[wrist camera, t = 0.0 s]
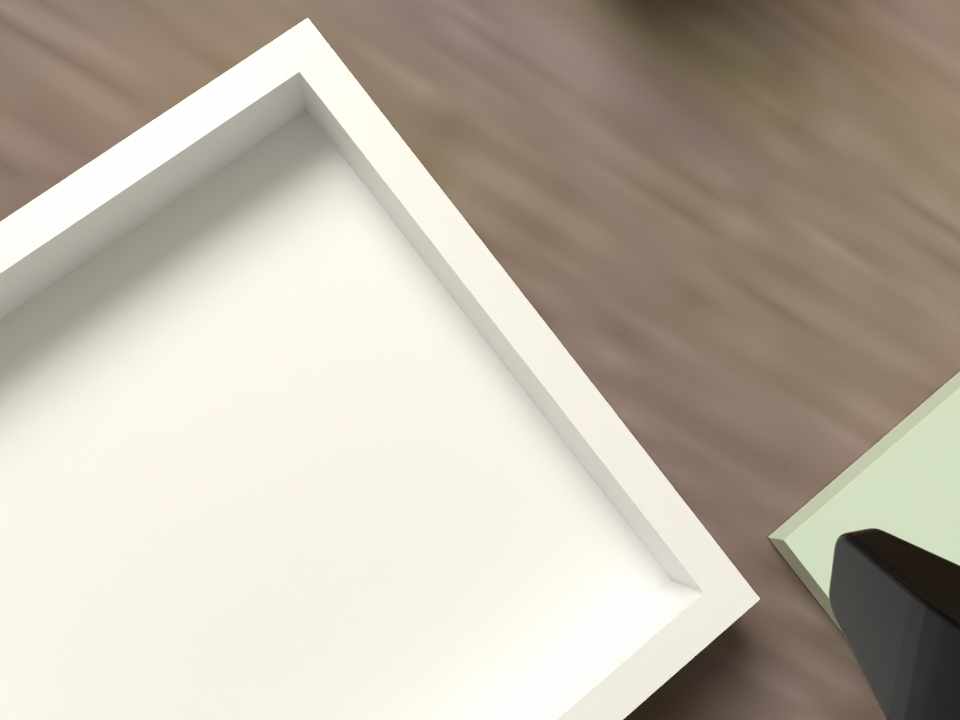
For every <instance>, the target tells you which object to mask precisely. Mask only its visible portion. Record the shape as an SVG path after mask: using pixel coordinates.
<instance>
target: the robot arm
mask: <svg viewBox="0 0 960 720" xmlns="http://www.w3.org/2000/svg"><path fill="white" fill-rule="evenodd" d="M829 601H830V606H831V609H832V612H833V615H834V617H835V619H836V621H837V623H838V625H839V627H840V629H841V631H842V633H843V635H844V636H845V638H846V640H847V642H848V644H849V646H850V648H851V650H852V652H853V654H854V656H855V658H856V660H857V662H858V664H859V666H860V668H861V670H862V672H863V674H864V675H865V677H866V679H867V681H868V683H869V685H870V687H871V689H872V691H873V693H874V695H875V697H876V699H877V701H878V703H879V705H880V707H881V709H882V711H883V713H884V715H885V716H886V718H887V720H960V565H958V564H955V563H953V562H951V561H949V560H947V559H944V558H942V557H940V556H938V555H936V554H933V553H931V552H929V551H927V550H925V549H923V548H920V547H918V546H916V545H914V544H912V543H909V542H907V541H905V540H903V539H901V538H898V537H896V536H894V535H892V534H890V533H887V532H885V531H883V530H880V529H876V528H869V529H864V530H858V531H853V532H847V533H844V534H842V535H840V536H839V537H838V539H837V541H836V543H835V548H834V555H833V563H832V571H831V579H830V587H829Z"/></svg>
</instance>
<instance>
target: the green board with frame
mask: <svg viewBox="0 0 960 720" xmlns="http://www.w3.org/2000/svg"><path fill="white" fill-rule="evenodd" d="M869 528H876V529H880V530H883V531H885V532H887V533H890V534H892V535H894V536H896V537H898V538H901V539H903V540H905V541H907V542H909V543H912V544H914V545H916V546H918V547H920V548H923V549H925V550H927V551H929V552H931V553H933V554H936V555H938V556H940V557H942V558H944V559H947V560H949V561H951V562H953V563H955V564H958V565H960V371H959V372H958V373H957V374H956V375H955V376H954V377H952V378H951V379H950V380H949V381H948V382H947V383H946V384H944V385H943V386H942V387H941V388H940V389H939V390H937V391H936V392H935V393H934V394H933V395H932V396H931V397H929V398H928V399H927V400H926V401H925V402H924V403H922V404H921V405H920V406H919V407H918V408H917V409H915V410H914V411H913V412H912V413H911V414H910V415H909V416H907V417H906V418H905V419H904V420H903V421H902V422H900V423H899V424H898V425H897V426H896V427H895V428H893V429H892V430H891V431H890V432H889V433H888V434H887V435H885V436H884V437H883V438H882V439H881V440H880V441H878V442H877V443H876V444H875V445H874V446H873V447H872V448H870V449H869V450H868V451H867V452H866V453H865V454H863V455H862V456H861V457H860V458H859V459H858V460H856V461H855V462H854V463H853V464H852V465H851V466H850V467H848V468H847V469H846V470H845V471H844V472H843V473H841V474H840V475H839V476H838V477H837V478H836V479H835V480H833V481H832V482H831V483H830V484H829V485H828V486H826V487H825V488H824V489H823V490H822V491H821V492H819V493H818V494H817V495H816V496H815V497H814V498H813V499H811V500H810V501H809V502H808V503H807V504H806V505H804V506H803V507H802V508H801V509H800V510H799V511H797V512H796V513H795V514H794V515H793V516H792V517H791V518H789V519H788V520H787V521H786V522H785V523H784V524H782V525H781V526H780V527H779V528H778V529H777V530H776V531H774V532H773V533H772V534H771V535H770V536H769V537H768V538H769V540H770V541H771V542H772V543H773V545H774V546H775V547H776V548H777V550H778V551H779V552H780V554H781V555H782V556H783V557H784V559H785V560H786V561H787V563H788V564H789V565H790V566H791V568H792V569H793V570H794V572H795V573H796V574H797V575H798V577H799V578H800V579H801V581H802V582H803V583H804V584H805V586H806V587H807V588H808V590H809V591H810V592H811V593H812V595H813V596H814V597H815V599H816V600H817V601H818V602H819V604H820V605H821V606H822V607H823V609H824V610H825V611H826V613H827V614H828V615H829V616H830V618H831V619H832V620H833V622H834V623H835V624H836V625H837V627H838V628H839V629H840V627H839V625H838V623H837V621H836V619H835V617H834V615H833V612H832V609H831V606H830V601H829V587H830V579H831V571H832V563H833V555H834V548H835V543H836V541H837V539H838V537H839V536H840V535H842V534H844V533H847V532H853V531H858V530H864V529H869ZM840 631H841V629H840ZM841 632H842V631H841Z"/></svg>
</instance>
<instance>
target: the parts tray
mask: <svg viewBox="0 0 960 720" xmlns="http://www.w3.org/2000/svg"><path fill="white" fill-rule="evenodd" d="M759 600H760V598H759V597H758V596H757V594H756V593H755V592H754V591H753V589H752V588H751V587H750V585H749V584H748V583H747V582H746V580H745V579H744V578H743V576H742V575H741V574H740V573H739V571H738V570H737V569H736V567H735V566H734V565H733V564H732V562H731V561H730V560H729V558H728V557H727V556H726V555H725V553H724V552H723V551H722V549H721V548H720V547H719V546H718V544H717V543H716V542H715V540H714V539H713V538H712V537H711V535H710V534H709V533H708V531H707V530H706V529H705V528H704V526H703V525H702V524H701V522H700V521H699V520H698V519H697V517H696V516H695V515H694V513H693V512H692V511H691V510H690V508H689V507H688V506H687V504H686V503H685V502H684V501H683V499H682V498H681V497H680V495H679V494H678V493H677V492H676V490H675V489H674V488H673V486H672V485H671V484H670V483H669V481H668V480H667V479H666V477H665V476H664V475H663V474H662V472H661V471H660V470H659V468H658V467H657V466H656V465H655V463H654V462H653V461H652V459H651V458H650V457H649V456H648V454H647V453H646V452H645V451H644V449H643V448H642V447H641V445H640V444H639V443H638V442H637V440H636V439H635V438H634V436H633V435H632V434H631V433H630V431H629V430H628V429H627V427H626V426H625V425H624V424H623V422H622V421H621V420H620V418H619V417H618V416H617V415H616V413H615V412H614V411H613V409H612V408H611V407H610V406H609V404H608V403H607V402H606V400H605V399H604V398H603V397H602V395H601V394H600V393H599V391H598V390H597V389H596V388H595V386H594V385H593V384H592V382H591V381H590V380H589V379H588V377H587V376H586V375H585V373H584V372H583V371H582V370H581V368H580V367H579V366H578V364H577V363H576V362H575V361H574V359H573V358H572V357H571V355H570V354H569V353H568V352H567V350H566V349H565V348H564V346H563V345H562V344H561V343H560V341H559V340H558V339H557V337H556V336H555V335H554V334H553V332H552V331H551V330H550V328H549V327H548V326H547V325H546V323H545V322H544V321H543V319H542V318H541V317H540V316H539V314H538V313H537V312H536V310H535V309H534V308H533V307H532V305H531V304H530V303H529V301H528V300H527V299H526V298H525V296H524V295H523V294H522V292H521V291H520V290H519V289H518V287H517V286H516V285H515V283H514V282H513V281H512V280H511V278H510V277H509V276H508V274H507V273H506V272H505V271H504V269H503V268H502V267H501V265H500V264H499V263H498V262H497V260H496V259H495V258H494V256H493V255H492V254H491V253H490V251H489V250H488V249H487V247H486V246H485V245H484V244H483V242H482V241H481V240H480V238H479V237H478V236H477V235H476V233H475V232H474V231H473V229H472V228H471V227H470V226H469V224H468V223H467V222H466V220H465V219H464V218H463V217H462V215H461V214H460V213H459V211H458V210H457V209H456V208H455V206H454V205H453V204H452V202H451V201H450V200H449V199H448V197H447V196H446V195H445V193H444V192H443V191H442V190H441V188H440V187H439V186H438V184H437V183H436V182H435V181H434V179H433V178H432V177H431V175H430V174H429V173H428V172H427V170H426V169H425V168H424V166H423V165H422V164H421V163H420V161H419V160H418V159H417V157H416V156H415V155H414V154H413V152H412V151H411V150H410V148H409V147H408V146H407V145H406V143H405V142H404V141H403V139H402V138H401V137H400V136H399V134H398V133H397V132H396V130H395V129H394V128H393V127H392V125H391V124H390V123H389V121H388V120H387V119H386V118H385V116H384V115H383V114H382V112H381V111H380V110H379V109H378V107H377V106H376V105H375V103H374V102H373V101H372V100H371V98H370V97H369V96H368V94H367V93H366V92H365V91H364V89H363V88H362V87H361V85H360V84H359V83H358V82H357V80H356V79H355V78H354V76H353V75H352V74H351V73H350V71H349V70H348V69H347V67H346V66H345V65H344V64H343V62H342V61H341V60H340V58H339V57H338V56H337V55H336V53H335V52H334V51H333V49H332V48H331V47H330V46H329V44H328V43H327V42H326V40H325V39H324V38H323V37H322V35H321V34H320V33H319V31H318V30H317V29H316V28H315V26H314V25H313V24H312V22H311V21H310V20H309V19H308V18H307V19H305V20H304V21H302V22H301V23H299V24H298V25H296V26H295V27H293V28H291V29H290V30H288V31H287V32H285V33H284V34H282V35H281V36H279V37H278V38H276V39H275V40H273V41H272V42H270V43H269V44H267V45H266V46H264V47H263V48H261V49H260V50H258V51H257V52H255V53H254V54H252V55H251V56H249V57H248V58H246V59H245V60H243V61H242V62H240V63H239V64H237V65H236V66H234V67H233V68H231V69H230V70H228V71H227V72H225V73H224V74H222V75H221V76H219V77H218V78H216V79H215V80H213V81H212V82H210V83H209V84H207V85H206V86H204V87H203V88H201V89H200V90H198V91H197V92H195V93H194V94H192V95H191V96H189V97H188V98H186V99H185V100H183V101H182V102H180V103H179V104H177V105H176V106H174V107H173V108H171V109H170V110H168V111H166V112H165V113H163V114H162V115H160V116H159V117H157V118H156V119H154V120H153V121H151V122H150V123H148V124H147V125H145V126H144V127H142V128H141V129H139V130H138V131H136V132H135V133H133V134H132V135H130V136H129V137H127V138H126V139H124V140H123V141H121V142H120V143H118V144H117V145H115V146H114V147H112V148H111V149H109V150H108V151H106V152H105V153H103V154H102V155H100V156H99V157H97V158H96V159H94V160H93V161H91V162H90V163H88V164H87V165H85V166H84V167H82V168H81V169H79V170H78V171H76V172H75V173H73V174H72V175H70V176H69V177H67V178H66V179H64V180H63V181H61V182H60V183H58V184H57V185H55V186H54V187H52V188H51V189H49V190H48V191H46V192H45V193H43V194H42V195H40V196H38V197H37V198H35V199H34V200H32V201H31V202H29V203H28V204H26V205H25V206H23V207H22V208H20V209H19V210H17V211H16V212H14V213H13V214H11V215H10V216H8V217H7V218H5V219H4V220H2V221H1V222H0V720H623V719H624V718H625V717H627V716H628V715H629V714H630V713H631V712H632V711H633V710H635V709H636V708H637V707H638V706H639V705H640V704H641V703H642V702H644V701H645V700H646V699H647V698H648V697H649V696H650V695H652V694H653V693H654V692H655V691H656V690H657V689H658V688H660V687H661V686H662V685H663V684H664V683H665V682H666V681H668V680H669V679H670V678H671V677H672V676H673V675H674V674H676V673H677V672H678V671H679V670H680V669H681V668H682V667H683V666H685V665H686V664H687V663H688V662H689V661H690V660H691V659H693V658H694V657H695V656H696V655H697V654H698V653H699V652H701V651H702V650H703V649H704V648H705V647H706V646H707V645H709V644H710V643H711V642H712V641H713V640H714V639H715V638H717V637H718V636H719V635H720V634H721V633H722V632H723V631H724V630H726V629H727V628H728V627H729V626H730V625H731V624H732V623H734V622H735V621H736V620H737V619H738V618H739V617H740V616H742V615H743V614H744V613H745V612H746V611H747V610H748V609H750V608H751V607H752V606H753V605H754V604H755V603H756V602H758V601H759Z"/></svg>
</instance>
